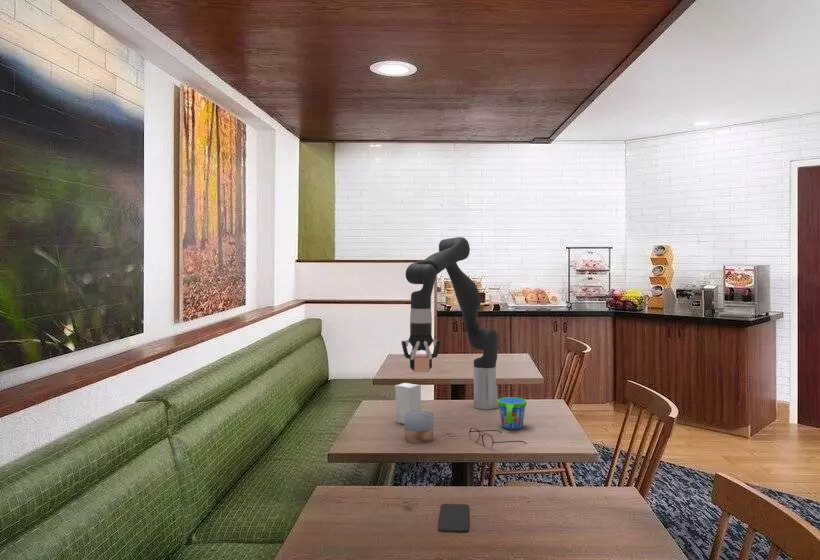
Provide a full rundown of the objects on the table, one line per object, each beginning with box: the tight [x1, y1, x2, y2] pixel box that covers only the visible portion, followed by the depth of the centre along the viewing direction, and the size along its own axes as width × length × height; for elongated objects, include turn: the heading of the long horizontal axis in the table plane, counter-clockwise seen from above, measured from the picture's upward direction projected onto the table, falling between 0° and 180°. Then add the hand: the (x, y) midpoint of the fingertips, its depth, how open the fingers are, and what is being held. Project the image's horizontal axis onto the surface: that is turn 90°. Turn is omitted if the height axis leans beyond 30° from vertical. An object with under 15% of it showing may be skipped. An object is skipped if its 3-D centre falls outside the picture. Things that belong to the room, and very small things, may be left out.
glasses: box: [469, 427, 528, 449], centre depth 207 cm, size 14×15×5 cm
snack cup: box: [498, 396, 527, 430], centre depth 223 cm, size 16×10×10 cm
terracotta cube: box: [412, 355, 430, 373], centre depth 210 cm, size 5×5×5 cm
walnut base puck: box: [404, 428, 434, 444], centre depth 211 cm, size 10×10×4 cm
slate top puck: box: [404, 410, 434, 431], centre depth 210 cm, size 10×10×4 cm
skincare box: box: [394, 382, 422, 425], centre depth 231 cm, size 8×6×15 cm
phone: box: [437, 503, 470, 534], centre depth 148 cm, size 7×1×15 cm
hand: (420, 369), depth 210 cm, fingers closed on terracotta cube, 5 cm apart
